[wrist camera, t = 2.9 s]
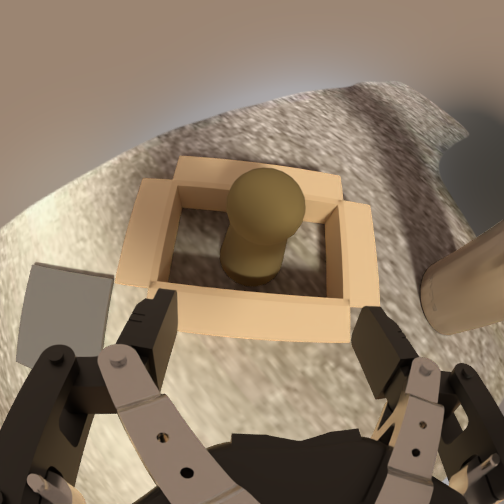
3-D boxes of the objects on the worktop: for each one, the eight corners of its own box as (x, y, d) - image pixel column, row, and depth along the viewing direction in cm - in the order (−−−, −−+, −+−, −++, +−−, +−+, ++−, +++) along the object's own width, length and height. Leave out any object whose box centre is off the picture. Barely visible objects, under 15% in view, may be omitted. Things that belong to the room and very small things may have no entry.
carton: (351, 200, 30) (365, 181, 27) (359, 345, 24) (380, 341, 21) (157, 177, 29) (151, 154, 25) (124, 325, 23) (108, 318, 19)
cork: (223, 290, 25) (224, 240, 15) (216, 230, 27) (216, 155, 17) (287, 282, 26) (329, 231, 16) (276, 225, 28) (305, 153, 18)
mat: (114, 280, 24) (112, 278, 24) (99, 392, 20) (97, 392, 19) (34, 266, 23) (32, 264, 23) (18, 361, 19) (15, 361, 19)
